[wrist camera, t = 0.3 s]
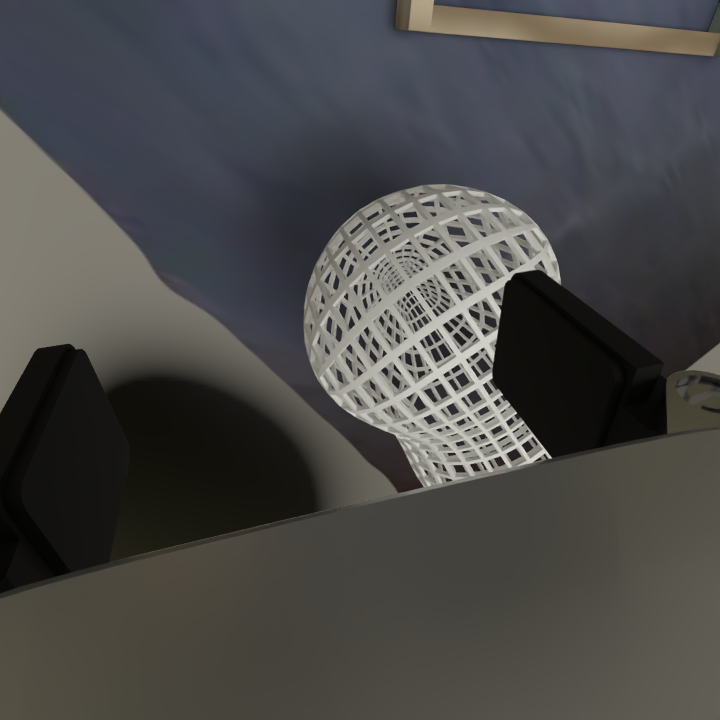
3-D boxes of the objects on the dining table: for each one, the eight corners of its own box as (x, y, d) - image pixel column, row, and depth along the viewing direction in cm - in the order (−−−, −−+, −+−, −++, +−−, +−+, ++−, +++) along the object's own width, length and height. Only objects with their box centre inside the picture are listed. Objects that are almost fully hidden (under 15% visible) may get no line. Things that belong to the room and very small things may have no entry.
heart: (522, 330, 52) (677, 487, 34) (405, 407, 54) (495, 591, 37) (398, 89, 36) (576, 156, 18) (238, 215, 38) (257, 383, 20)
